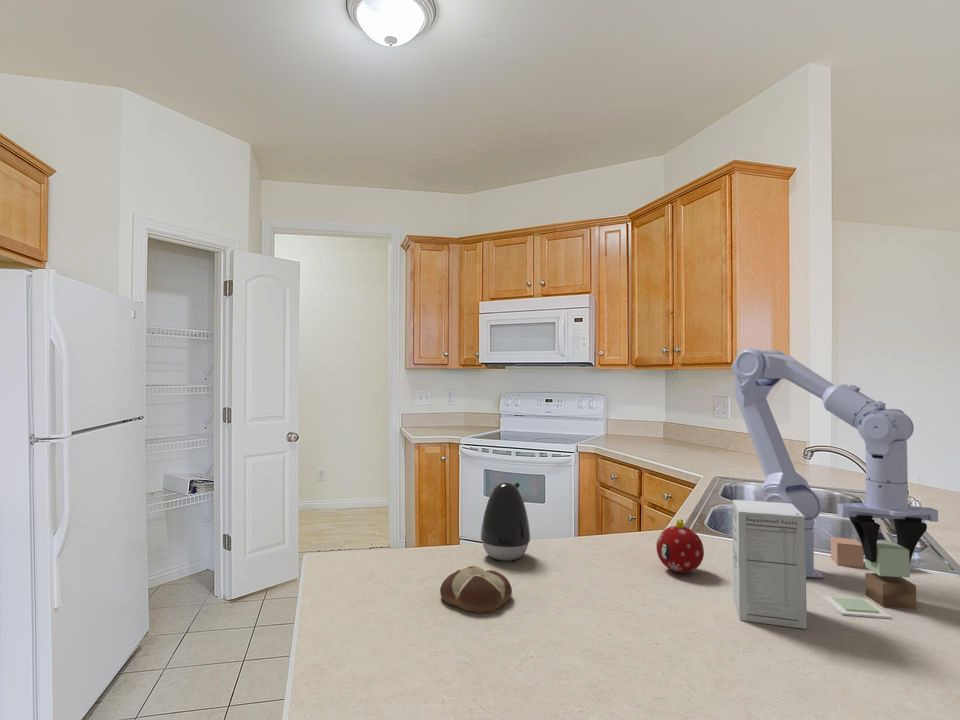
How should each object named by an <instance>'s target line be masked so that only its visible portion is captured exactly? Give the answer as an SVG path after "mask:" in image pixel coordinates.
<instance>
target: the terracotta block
mask: <svg viewBox="0 0 960 720" xmlns="http://www.w3.org/2000/svg"><path fill="white" fill-rule="evenodd" d="M830 559H831V560H832V561H833V562H834V563H835V565H836V566H842V567H849V568H860V569H864V566H865V557H864V550H863V547H862V543H861V541H860V542H859V541H858V539H856V538H854V539H853V538H845V537H844V538H843V537H833V536H830Z"/></svg>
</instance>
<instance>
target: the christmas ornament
mask: <svg viewBox="0 0 960 720" xmlns="http://www.w3.org/2000/svg"><path fill="white" fill-rule="evenodd" d="M684 525H685V524H684V520H683V519H682V518H677V520H676V523H675V525H673V526H669V527H668V528H665V529H664V530H663V531H662V532H661V533H660V534H659V536H658V538H657V541H656V554H657V557H658V559H659V560H660V562H661V563H662V564H663V565H664V566H665V567H666V568H667V569H669V570H670V571H673V572H675V573H679V574H686V573H690V572H693V571H695V570H696V569H697V568H699V566H700V565H701V564H702V562H703V560H704V556H705V555H704V553H705V549H704V548H705V547H704V545H703V542H702V540H701V538H700V536H699V535H698V534H697V533H696V532H695V531H693V530H692V529H690V528H688V527H686V526H684Z"/></svg>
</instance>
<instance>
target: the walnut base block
mask: <svg viewBox="0 0 960 720" xmlns="http://www.w3.org/2000/svg"><path fill="white" fill-rule="evenodd" d="M864 574H865V575H864V576H865V582H864V583H865V596H866V597H868V598H869V599H870V600H871V601H873V602H874V603H876V604H878V605H879V606H881V607H882V608H887V609H888V608H890V609H901V610H902V609H905V610H917V585H916V584H915V583H913V582H910V581H909V580H907V579H906V578H905V577H892V576H879V575H878V574H876V573H874V572H865V573H864Z"/></svg>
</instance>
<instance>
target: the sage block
mask: <svg viewBox="0 0 960 720" xmlns="http://www.w3.org/2000/svg"><path fill="white" fill-rule="evenodd" d="M864 566H865V568H867V569H868V570H870V571H871V572H872V573H876V574H878V575H879V576H892V577H902V578H910V577H911V571H910V570H911V569H910V568H911V567H910V566H911V562H910V563H909V550H908V549H906V548H904V547H902V546H901V545H899V544H897V543H896V542H894V541H890V542H885V541H877V559H876V563H875V562H870V561H869V560H867V559H865V558H864Z"/></svg>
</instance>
